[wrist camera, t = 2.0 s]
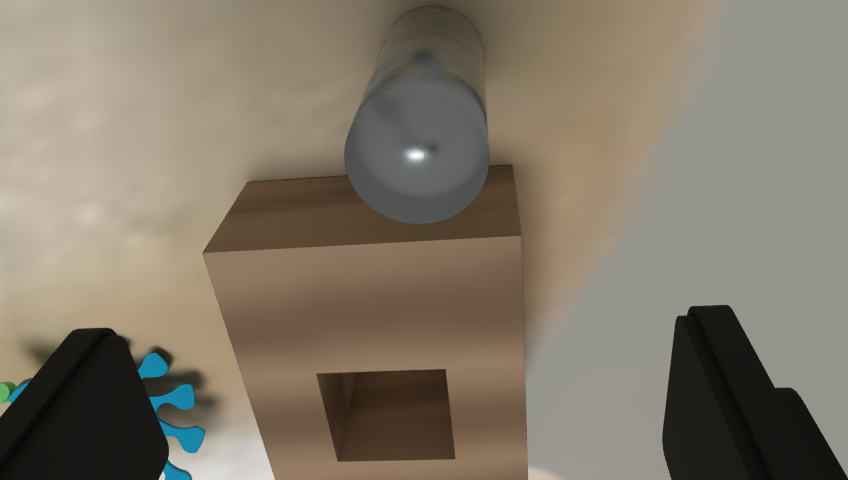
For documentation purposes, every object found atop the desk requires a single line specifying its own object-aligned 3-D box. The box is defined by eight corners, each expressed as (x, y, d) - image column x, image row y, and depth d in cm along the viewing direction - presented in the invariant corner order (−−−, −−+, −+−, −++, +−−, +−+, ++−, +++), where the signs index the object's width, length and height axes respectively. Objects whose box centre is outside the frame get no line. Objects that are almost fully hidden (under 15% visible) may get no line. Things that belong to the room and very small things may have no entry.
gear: (241, 406, 36) (123, 586, 33) (242, 400, 41) (141, 553, 38) (57, 294, 34) (-83, 471, 31) (84, 303, 40) (-33, 454, 37)
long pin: (377, 10, 26) (332, 96, 18) (480, 1, 26) (484, 85, 17) (390, 107, 28) (356, 227, 20) (485, 100, 28) (492, 219, 19)
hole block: (247, 182, 30) (202, 253, 25) (512, 164, 29) (521, 235, 24) (318, 453, 40) (296, 545, 35) (521, 448, 38) (529, 543, 33)
